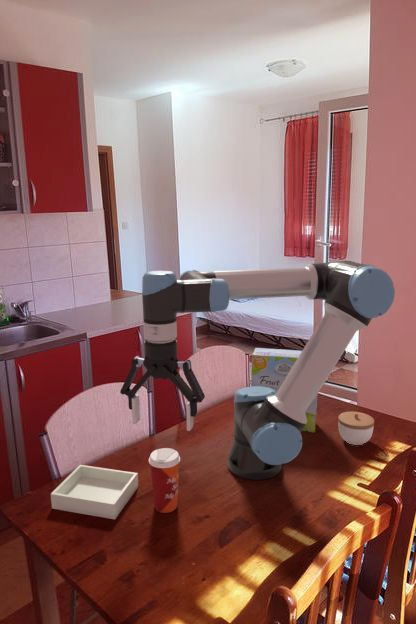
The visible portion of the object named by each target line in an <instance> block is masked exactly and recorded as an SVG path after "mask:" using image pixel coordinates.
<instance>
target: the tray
mask: <svg viewBox="0 0 416 624" xmlns="http://www.w3.org/2000/svg"><path fill="white" fill-rule="evenodd" d="M138 488H139V473H138V472H133V471H127V470H126V471H124V470H118V469H111V468H105V467H99V466H91V465H86V464H85V465H84V464H79V465H78V466H77V467H76V468H75V469H74V470H73V471H72V472H71V473H70V474H69V475H68V476H66V478H65V479H64V480H63V481H62V482H61V483H60V484H59V485H58V486H57V487H56V488H55V489H54V490H53V491H52V492H51V493H50V501H51V509H54V510H58V511H64V512H70V513H76V514H82V515H86V516H87V515H88V516H92V517H99V518H105V519H111V520H116V519H117V517H118V516H119V515H120V513H121V512H122V510H123V509H124V508H125V506H126V505H127V503H128V502H129V500H130V499H131V498H132V496H133V495H134V494H135V492H136V491H137V489H138Z"/></svg>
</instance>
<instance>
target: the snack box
mask: <svg viewBox="0 0 416 624" xmlns="http://www.w3.org/2000/svg"><path fill="white" fill-rule="evenodd" d="M302 351H303V350H295V349H282V348H280V349H277V348H265V347H254V350H253V353H252V354H251V371H250V372H251V380H250V381H251V383H250V384H251V385H250V387H253V386H260V387H268V388H271V389H273V390H275V391H276V393H277V391H278V390H279V388H280V386H281V385H282V383H283V382H284V380H285V378H286V377H287V375H288V373H289V372H290V370H291V369H292V367H293V365H294V364H295V362H296V360H297V359H298V357H299V356H300V354H301V352H302ZM317 406H318V395H317V396H316V397H315V399H314V400H313V402H312V404H311V405H310V407H309V408H308V410H307V412H306V418H307V424H306V425H305V427H304V429H303V430H302V432H305V431H308V432H307V433H316V425H317V424H316V422H317V408H318V407H317Z"/></svg>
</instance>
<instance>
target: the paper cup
mask: <svg viewBox="0 0 416 624" xmlns="http://www.w3.org/2000/svg"><path fill="white" fill-rule="evenodd" d="M180 462H181V457H180V455H179V452H178V451H177V450H175V449H174V448H169V447H163V448H157V449H155V450H152V452H151V453H150V456H149V458H148V463H149V466H150V467H149V468H150V474H151V475H150V476H151V484H152V485H151V486H152V493H153V494H152V496H153V502H154V509H155V510H156V511H157V512H159V513H161V514H162V513H163V514H169V513H171V512H174V511H175V510H176V509H177V507H178V499H179V498H178V497H179V474H180V473H179V472H180V471H179V470H180V469H179V468H180Z"/></svg>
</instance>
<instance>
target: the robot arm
mask: <svg viewBox="0 0 416 624" xmlns="http://www.w3.org/2000/svg"><path fill="white" fill-rule="evenodd" d="M141 287H142V289H141V290H142V291H141V297H142V316H143V317H142V319H143V338H144V339H145V340H144V341H143V349H144V350H143V354H144V358H142V357H141V356H140V355H136V356H135V357H134V358H132V359H131V365H130V369H129V371H128V373H127V376H126V378H125V380H124V382H123V385H122V386H121V389H120V391H119V393H120V395H126V397H127V398H128V399H127V402H128V409H129V410H131V413H132V414H131V416H132V425H137V424H138V422H139V421H140V420H141V408H140V404H141V403H140V394H137V393H138V391H139V390H140V389H141V388H142V386H143V385H145V383H146V382H147V381H148V380H149V379H150V378H151V377H152V378H153V379H156V380H157V379H162V380H169V381H170V382H171V383H173V384H174V385H175V387H176V388H177V389H178V390H179V392H180V393H181V394H182V395H183V397H184V398H185V399H186V400H187V403H186V431H188V432H191V430H192V429H193V427H194V417H196V415H197V413H198V403H203V401H204V399H205V397H206V396H205V393H204V391H203V389H202V387H201V385H200V383H199V381H198V379H197V377H196V375H195V373H194V370H193V368H192V362H191V360H190V359H187V360H185V361H184V360H183V361H179V359H178V340H177V339H176V338H177V336H178V332H177V331H178V329H177V327H178V326H177V319H178V318H177V314H186V313H210V312H211V313H215V312H224V311H226V310H227V309H228V307H229V305H230V300H231V301H232V300H247V299H248V300H249V299H250V300H252V299H271V298H272V299H273V298H274V299H275V298H291V297H292V298H294V297H305V298H307V300H310V301H311V300H318V301H319V300H320V301H324V303H323V305H324V309H325V313H324V315H323V317H322V318H321V319H320V321H319V323H318V325H317V326H316V328H315V330H314V331H313V333H312V334H311V336H310V338H309V339H308V341H307V343H306V344H305V346H304V347H303V349H302V350H301V351H302V352H301V354H300V356H299V357H298V359H297V360H296V362H295V364H294V365H293V367H292V369H291V370H290V372H289V373H288V375H287V377H286V378H285V380H284V382H283V383H282V385H281V386H280V388H279V390H278V391H277V393H276V391H275V390H273V389H271V388H268V387H260V386H253V387H251V386H246V387H245V386H244V387H242V388H239V389H237V390H236V391H235V392H234V397H233V399H234V400H233V408H234V409H233V410H234V411H233V412H234V413H233V417H234V421H233V426H234V427H233V428H234V429H233V434H234V435H233V438H234V439H233V442H232V444H231V448H230V451H229V454H228V458H227V467H228V469H229V470H230V472H231V473H232V474H234V475H235V476H237V477H239V478H242V479H245V480H253V481H257V480H259V481H260V480H267V479H271V478H274V477H275V476H276V475H278V474H279V473H280V471H281V470H282V465H283V464H287V463H289V462H291V461H294V459H296V458H297V456H298V455H299V454H300V452H301V450H302V447H303V437H302V434H301V433H302V432H303V431H302V430H303V429H304V427H305V425H306V424H307V418H306V412H307V410H308V408H309V407H310V405H311V404H312V402H313V400H314V399H315V397H316V396H317V397H318V394H319V393H320V391H321V389H322V388H323V386H324V385H325V383H326V381H327V379H328V378H329V376H330V374H331V373H332V372H333V370H334V368H335V367H336V365H337V363H338V362H339V360H340V358H341V357H342V356H343V354H344V352H345V350H346V349H347V347H348V346H349V344H350V342H351V341H352V339H353V338H354V336H355V334H356V333H357V332H358V331H360V330H363V329H367V327H369V325H370V323H371V321H372V320H373V319H374V318H376V319H377V318H378V317H380V316H383V315H385V314H386V313H387V312H388V311H389V310H390V309H391V307H392V305H393V304H394V303H393V302H394V299H395V296H396V295H395V294H396V293H395V292H396V291H395V290H396V289H395V287H394V281H393V279H392V277H391V276H390V274H388V273H387V272H386V271H385V270H384V269H382V268H379V267H377V266H374V265H371V264H363V263H359V262H355V261H351V260H336V261H329V262H328V261H326V262H319V263H318V262H317V263H307V264H306V265H305V266H304V267H294V268H293V267H290V268H289V267H288V268H264V269H263V268H261V269H258V268H257V269H234V270H233V269H232V270H231V269H230V270H214V271H209V270H208V271H206V270H205V271H199V270H197V269H190V270H185V271H184V272H182V273H181V274H180V275H179V278H177V277H176V273H175V272H174V271H171V270H152V271H151V270H150V271H147V272H145V273H144V274H143V276H142V286H141ZM142 366H143V367H144V368H145V370H146V372H145V373H144V374H143V375H142V377H141V378H139V380H138V382H136V384H134V386H133V387H132V388H131V386H132V384H133V382H134V379H135V377H136V375H137V373H138V371H139V369H140V367H142ZM178 368H180V371H182V372H183V375H184V376H185V379H186V381H187V382H186V381H185V380H184V378H182V376H181V374H180V372H179V371H178V370H177V369H178ZM187 383H188V384H187Z"/></svg>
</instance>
